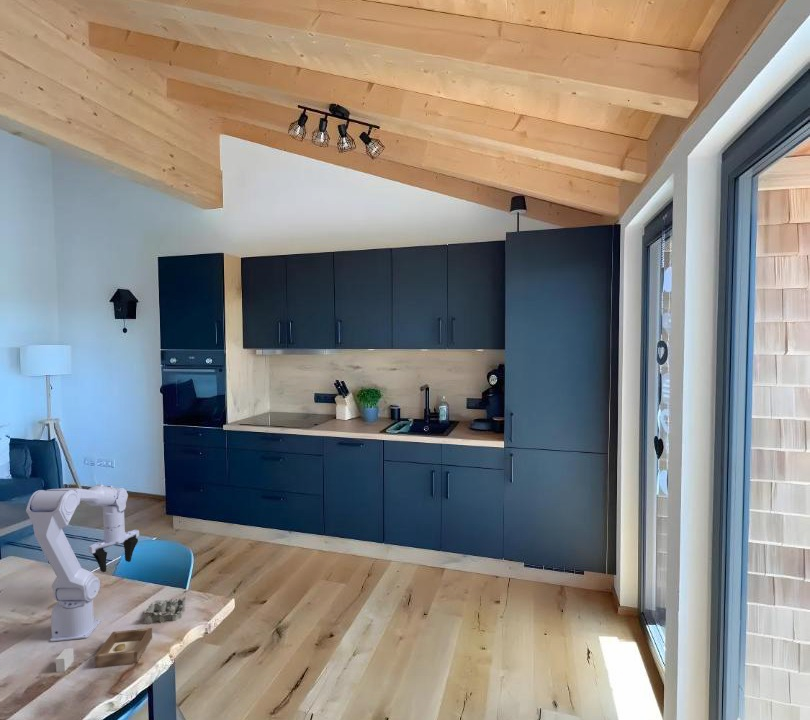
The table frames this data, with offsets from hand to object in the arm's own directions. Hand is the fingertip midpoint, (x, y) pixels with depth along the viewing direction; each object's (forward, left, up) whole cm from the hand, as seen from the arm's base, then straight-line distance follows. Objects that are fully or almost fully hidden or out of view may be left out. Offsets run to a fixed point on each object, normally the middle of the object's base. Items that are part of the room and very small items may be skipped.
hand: (115, 566), depth 150 cm
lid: (+1, -32, -11) cm, 34 cm away
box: (+14, -29, -10) cm, 34 cm away
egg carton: (+19, -13, -11) cm, 25 cm away
